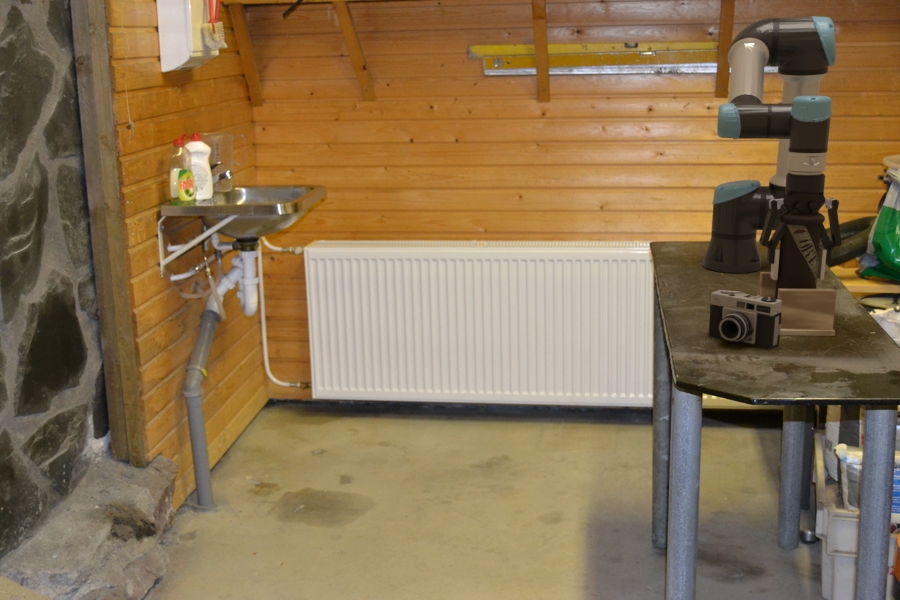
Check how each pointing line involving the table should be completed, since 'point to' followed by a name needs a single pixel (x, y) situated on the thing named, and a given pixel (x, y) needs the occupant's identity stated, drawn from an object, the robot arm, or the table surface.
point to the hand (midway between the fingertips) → (796, 278)
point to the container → (799, 251)
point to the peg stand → (802, 308)
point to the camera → (745, 318)
